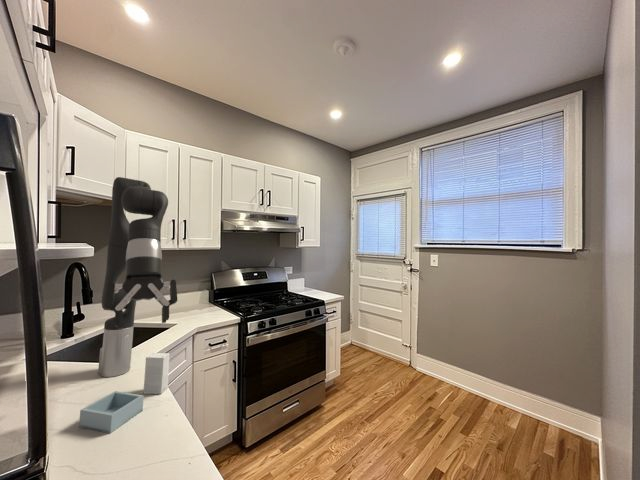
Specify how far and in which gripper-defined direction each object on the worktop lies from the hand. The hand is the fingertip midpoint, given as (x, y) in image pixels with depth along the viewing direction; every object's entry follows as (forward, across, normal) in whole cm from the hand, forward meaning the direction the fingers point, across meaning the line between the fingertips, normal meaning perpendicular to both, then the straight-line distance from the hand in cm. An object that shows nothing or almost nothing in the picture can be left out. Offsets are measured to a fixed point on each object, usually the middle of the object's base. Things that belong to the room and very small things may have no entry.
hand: (142, 325), depth 62 cm
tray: (+22, +5, -30) cm, 37 cm away
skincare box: (+19, -6, -40) cm, 44 cm away
